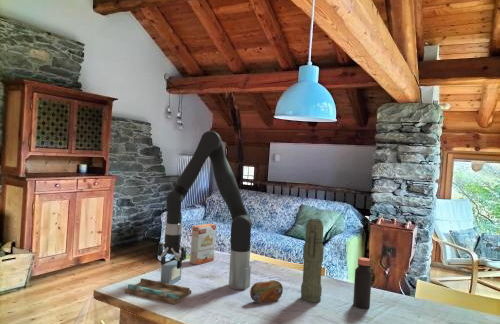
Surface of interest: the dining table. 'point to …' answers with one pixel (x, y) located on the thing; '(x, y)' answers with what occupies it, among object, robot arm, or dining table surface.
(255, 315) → the dining table surface
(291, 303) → the dining table surface
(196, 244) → the cracker box
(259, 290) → the tin
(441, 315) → the dining table surface
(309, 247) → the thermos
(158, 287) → the brown flat frame
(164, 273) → the carton
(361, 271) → the bottle
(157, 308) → the dining table surface
